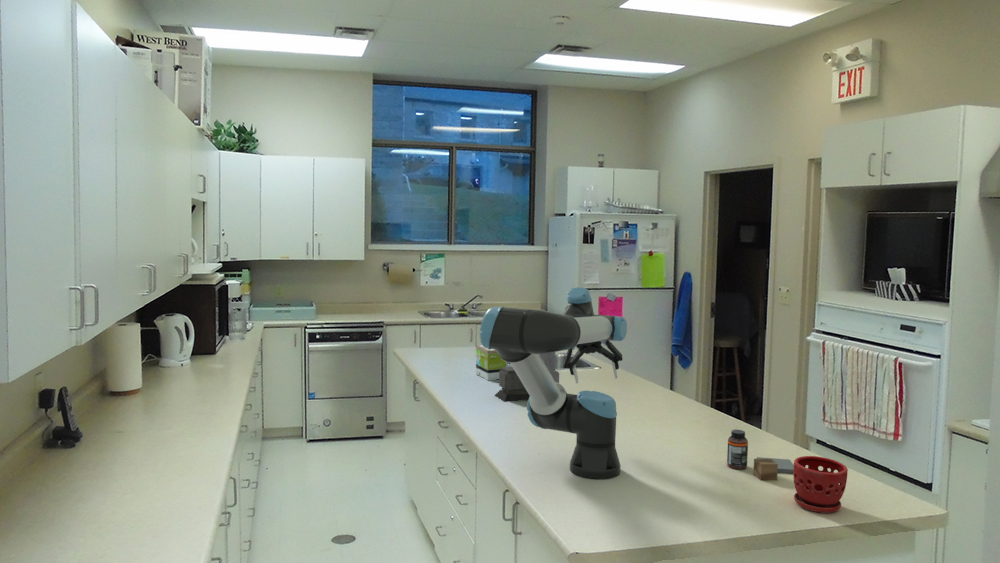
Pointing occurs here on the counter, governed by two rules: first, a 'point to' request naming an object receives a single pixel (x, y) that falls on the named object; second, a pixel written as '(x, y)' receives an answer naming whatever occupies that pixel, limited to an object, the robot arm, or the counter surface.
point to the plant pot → (819, 483)
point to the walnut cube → (765, 469)
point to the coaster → (782, 465)
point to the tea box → (488, 363)
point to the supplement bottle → (737, 450)
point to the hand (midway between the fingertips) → (596, 378)
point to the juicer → (513, 384)
